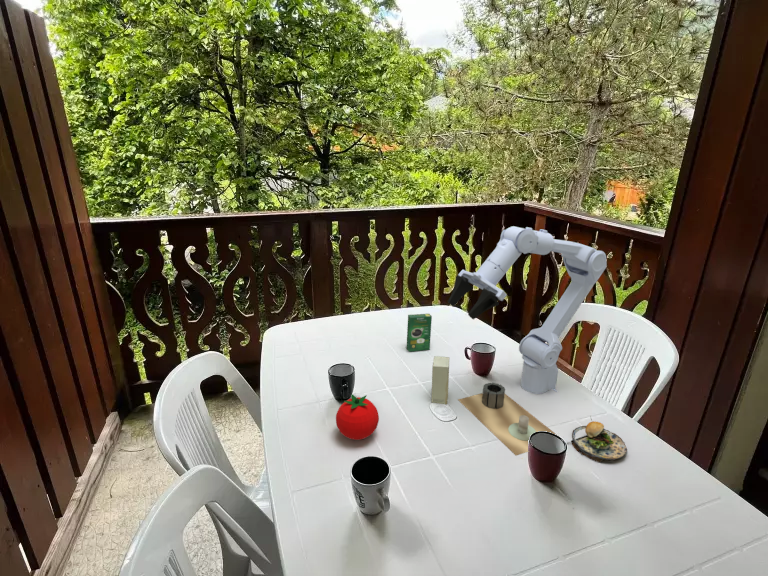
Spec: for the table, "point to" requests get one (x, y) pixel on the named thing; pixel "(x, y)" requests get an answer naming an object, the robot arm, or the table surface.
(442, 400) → the skincare box
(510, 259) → the robot arm
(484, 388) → the ring
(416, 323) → the coffee box
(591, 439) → the burger
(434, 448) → the table surface
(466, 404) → the board
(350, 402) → the tomato
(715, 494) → the table surface
